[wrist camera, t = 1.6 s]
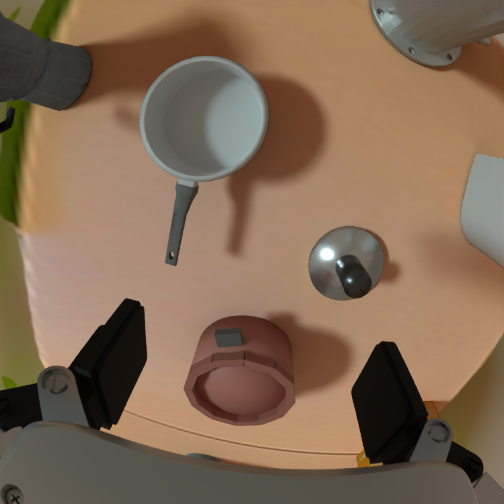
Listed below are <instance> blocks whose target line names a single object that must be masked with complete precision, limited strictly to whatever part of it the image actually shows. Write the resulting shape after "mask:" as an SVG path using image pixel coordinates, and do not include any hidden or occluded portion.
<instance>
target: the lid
mask: <svg viewBox="0 0 504 504" xmlns="http://www.w3.org/2000/svg"><path fill="white" fill-rule="evenodd" d="M383 267H384V254H383V250H382V248H381V246H380V244H379V242H378V241H377V240H376V239H375V238H374V237H373V236H372V235H371V234H370V233H369V232H368V231H366V230H364V229H362V228H359V227H354V226H344V227H339V228H336V229H333V230H331V231H329V232H328V233H326V234H325V235H324V236H322V237H321V238H320V239H319V240H318V241H317V243H316V244H315V245H314V247H313V249H312V251H311V253H310V257H309V263H308V268H309V274H310V278H311V281H312V283H313V285H314V286H315V288H316V289H317V290H318V291H319V292H320V293H321V294H322V295H324V296H326V297H328V298H330V299H334V300H343V301H344V300H351V299H355V298H361V297H363V296H365V295H366V294H367V293H368V292H369V291H370V289H371V288H372V287H373V286H374V285H375V284H376V283H377V281H378V280H379V278H380V276H381V274H382V271H383Z"/></svg>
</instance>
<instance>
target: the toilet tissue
mask: <svg viewBox="0 0 504 504" xmlns="http://www.w3.org/2000/svg"><path fill="white" fill-rule="evenodd" d="M461 226H462V230H463V234H464V236H465V238H466V239H467V241H468V242H469V243H470V244H471V245H472V246H473V247H475V248H477V249H478V250H479V251H481V252H482V253H484V254H485V255H486V256H487V257H489V258H490V259H492V260H493V261H494V262H496V263H497V264H498V265H500V266H501V267H502V268H503V269H504V159H500V158H496V157H491V156H486V155H483V154H482V155H481V154H477V155H476V158H475V161H474V163H473V165H472V168H471V173H470V176H469V179H468V184H467V188H466V192H465V196H464V199H463V203H462V208H461Z"/></svg>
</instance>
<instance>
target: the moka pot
mask: <svg viewBox="0 0 504 504" xmlns="http://www.w3.org/2000/svg"><path fill="white" fill-rule="evenodd" d="M91 68H92V62H91V58H90V56H89V53H88V51H87V50H86V49H85V48H82V47H78V46H73V45H68V44H64V43H59V42H53V41H51V39H50V38H44V39H41V38H39V37H38V35H36V34H35V33H33V32H31V31H29V30H27V29H26V28H24V27H22V26H20V25H19V24H17V23H15V22H13V21H11V20H9V19H7V18H5V17H4V16H3V14H2V13H1V12H0V102H6V101H7V100H12V101H14V100H17V99H21V100H24V101H28V102H31V103H35V104H38V105H41V106H44V107H48V108H51V109H54V110H58V111H60V110H62V109H64V108H66V107H68V106H70V105H71V104H72V103H73V102H75V101H76V100H77V99H78V97H79V96H80V95H81V93H82V92H83V90H84V89H85V87H86V85H87V83H88V81H89V78H90V73H91ZM14 115H15V108H13V107H11V106H10V107H9V109H8V110H7V118H6V120H5V121H3V122H1V123H0V133H1V132H4V131H6V130H8V129H10V128H11V127H12V124H13V120H14Z"/></svg>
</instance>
